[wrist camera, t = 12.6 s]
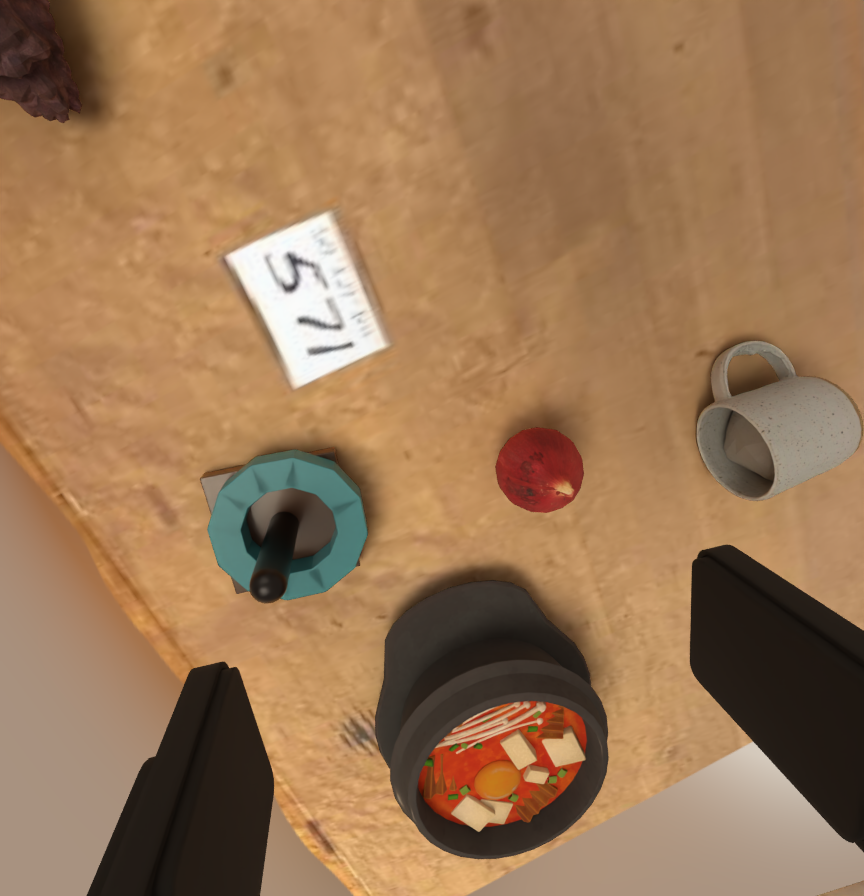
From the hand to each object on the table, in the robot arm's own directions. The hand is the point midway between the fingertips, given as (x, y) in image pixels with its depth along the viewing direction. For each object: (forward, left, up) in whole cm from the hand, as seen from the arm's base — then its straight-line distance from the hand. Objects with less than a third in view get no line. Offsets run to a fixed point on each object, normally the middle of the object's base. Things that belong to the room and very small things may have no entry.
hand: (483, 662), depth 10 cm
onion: (+6, +10, -27) cm, 29 cm away
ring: (+7, -8, -26) cm, 28 cm away
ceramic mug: (+6, +28, -27) cm, 39 cm away
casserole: (+27, +4, -27) cm, 38 cm away
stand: (+7, -8, -27) cm, 29 cm away
